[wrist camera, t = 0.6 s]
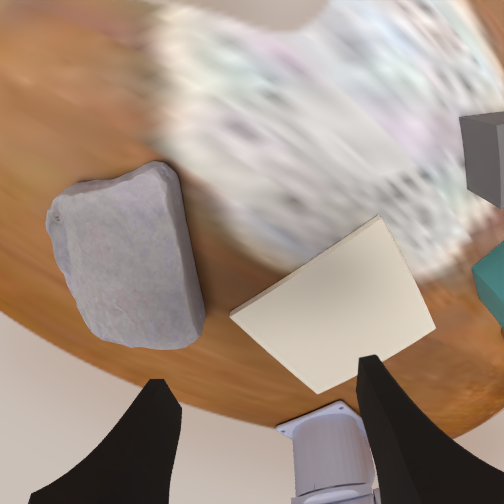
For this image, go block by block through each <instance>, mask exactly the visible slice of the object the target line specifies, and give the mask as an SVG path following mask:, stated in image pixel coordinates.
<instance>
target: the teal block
mask: <svg viewBox="0 0 504 504" xmlns="http://www.w3.org/2000/svg"><path fill="white" fill-rule="evenodd" d="M472 272H473V275H474V279H475V283H476V287H477V291H478V296H479V299H480V300H481V301H482V302H483V303H484V305H485V306H486V307H487V308H488V310H489V311H490V312H491V313H492V315H493V316H494V317H495V318H496V320H497V321H498V322H499V324H500V325H501V326H502V328H503V329H504V241H503V242H502V243H501V244H499V245H498V246H497V247H496V248H495V249H494V250H492V251H491V252H490V253H489V254H488V255H486V256H485V257H484V258H483V259H482V260H480V261H479V262H478V263H477V264H475V265H474V266H473V267H472Z"/></svg>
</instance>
